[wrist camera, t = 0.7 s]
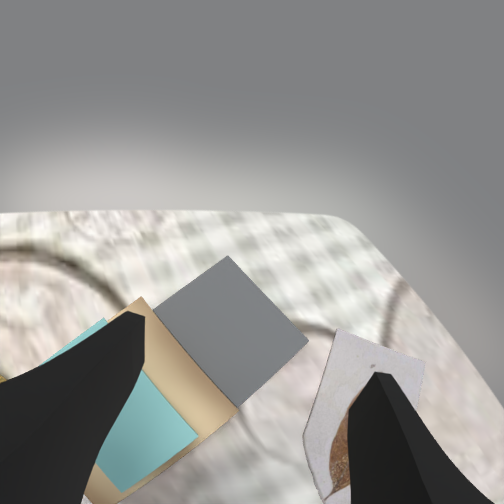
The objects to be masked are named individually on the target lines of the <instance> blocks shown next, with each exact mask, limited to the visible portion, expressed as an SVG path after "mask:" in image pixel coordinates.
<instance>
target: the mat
mask: <svg viewBox="0 0 504 504" xmlns="http://www.w3.org/2000/svg"><path fill="white" fill-rule="evenodd" d="M153 311H154V313H155V314H156V315H157V317H158V318H159V319H160V320H161V322H162V323H163V324H164V325H165V327H166V328H167V329H168V330H169V331H170V333H171V334H172V335H173V336H174V338H175V339H176V340H177V341H178V342H179V344H180V345H181V346H182V347H183V348H184V350H185V351H186V352H187V353H188V354H189V355H190V357H191V358H192V359H193V360H194V361H195V362H196V364H197V365H198V366H199V367H200V368H201V369H202V370H203V372H204V373H205V374H206V375H207V376H208V377H209V378H210V379H211V381H212V382H213V383H214V384H215V385H216V386H217V387H218V388H219V389H220V390H221V391H222V393H223V394H224V395H225V396H226V397H227V398H228V399H229V400H230V401H231V402H232V403H233V404H234V405H235V406H236V407H239V406H240V405H241V404H242V403H243V402H244V401H245V400H247V399H248V398H249V397H250V396H251V395H252V394H253V393H254V392H256V391H257V390H258V389H259V388H260V387H261V386H262V385H263V384H264V383H266V382H267V381H268V380H269V379H270V378H271V377H272V376H273V375H274V374H275V373H276V372H277V371H278V370H280V369H281V368H282V367H283V366H284V365H285V364H286V363H287V362H288V361H289V360H290V359H291V358H292V357H293V356H294V355H295V354H296V353H297V352H298V351H299V350H300V349H301V348H302V347H303V346H304V345H305V344H306V343H307V342H308V341H309V340H308V339H307V338H306V337H305V336H304V335H303V334H302V333H301V332H300V331H299V329H298V328H297V327H296V326H295V325H294V324H293V323H292V322H291V321H290V320H289V319H288V318H287V317H286V316H285V315H284V314H283V313H282V312H281V311H280V310H279V309H278V308H277V307H276V306H275V305H274V303H273V302H272V301H271V300H270V299H269V298H268V297H267V296H266V295H265V294H264V293H263V292H262V291H261V290H260V289H259V288H258V287H257V286H256V285H255V284H254V282H253V281H252V280H251V279H250V278H249V277H248V276H247V275H246V274H245V273H244V272H243V271H242V270H241V269H240V268H239V267H238V266H237V264H236V263H235V262H234V261H233V260H232V259H231V258H230V257H229V256H226V257H225V258H224V259H222V260H221V261H219V262H218V263H217V264H215V265H214V266H213V267H211V268H210V269H208V270H207V271H206V272H204V273H203V274H201V275H200V276H199V277H197V278H196V279H195V280H193V281H192V282H190V283H189V284H188V285H186V286H185V287H183V288H182V289H181V290H179V291H178V292H177V293H175V294H174V295H172V296H171V297H170V298H168V299H167V300H166V301H164V302H163V303H161V304H160V305H159V306H157V307H156V308H155V309H153Z"/></svg>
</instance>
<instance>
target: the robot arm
mask: <svg viewBox="0 0 504 504" xmlns="http://www.w3.org/2000/svg"><path fill="white" fill-rule="evenodd" d="M144 363H145V316H143V315H139V314H136V313H133V312H130V311H126V312H124V313H122V314H121V315H119V316H118V317H116V318H115V319H114V320H112V321H111V322H109V323H108V324H106V325H105V326H104V327H102V328H101V329H99V330H98V331H96V332H95V333H93V334H92V335H90V336H89V337H87V338H86V339H84V340H83V341H81V342H79V343H78V344H76V345H75V346H73V347H72V348H70V349H68V350H67V351H65V352H63V353H62V354H60V355H58V356H56V357H55V358H53V359H51V360H50V361H48V362H46V363H44V364H42V365H40V366H38V367H36V368H34V369H32V370H30V371H28V372H26V373H24V374H22V375H19V376H17V377H14V378H12V379H9V380H7V381H4V382H1V383H0V504H81V501H82V498H83V495H84V492H85V489H86V486H87V483H88V480H89V477H90V475H91V472H92V469H93V467H94V464H95V462H96V459H97V456H98V454H99V451H100V449H101V447H102V445H103V443H104V441H105V439H106V437H107V435H108V434H109V432H110V430H111V428H112V426H113V425H114V423H115V421H116V419H117V417H118V416H119V414H120V412H121V410H122V409H123V407H124V405H125V403H126V402H127V400H128V398H129V396H130V394H131V393H132V391H133V389H134V387H135V384H136V382H137V380H138V377H139V375H140V372H141V370H142V367H143V365H144ZM347 443H348V458H349V472H350V489H351V504H494V503H493V502H492V501H490V500H489V499H488V498H487V497H486V496H485V495H483V494H482V493H481V492H480V491H479V490H478V489H477V488H476V487H475V486H474V485H473V484H472V483H471V482H470V481H469V480H468V479H467V478H466V477H465V476H464V475H463V474H462V473H461V472H460V470H459V469H458V468H457V467H456V466H455V465H454V463H453V462H452V461H451V460H450V459H449V457H448V456H447V455H446V454H445V452H444V451H443V450H442V448H441V447H440V446H439V444H438V443H437V442H436V440H435V439H434V437H433V436H432V435H431V433H430V432H429V430H428V429H427V427H426V426H425V424H424V423H423V421H422V420H421V418H420V417H419V415H418V414H417V412H416V411H415V409H414V407H413V406H412V404H411V403H410V401H409V400H408V398H407V397H406V395H405V393H404V392H403V390H402V389H401V387H400V386H399V384H398V383H397V381H396V380H395V379H394V377H393V376H392V374H388V373H382V372H374V373H373V375H372V376H371V378H370V379H369V381H368V382H367V384H366V385H365V387H364V388H363V390H362V391H361V393H360V394H359V396H358V397H357V399H356V400H355V401H354V403H353V404H352V406H351V407H350V408H349V411H348V428H347Z"/></svg>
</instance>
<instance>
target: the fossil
mask: <svg viewBox="0 0 504 504" xmlns="http://www.w3.org/2000/svg"><path fill="white" fill-rule="evenodd" d="M424 369H425V362H424V361H421V360H419V359H416V358H413V357H410V356H407V355H405V354H402V353H399V352H396V351H394V350H391V349H389V348H386V347H383V346H381V345H378V344H375V343H373V342H370V341H368V340H366V339H363V338H361V337H358V336H356V335H353V334H351V333H348V332H346V331H343V330H341V329H336V333H335V337H334V340H333V344H332V347H331V350H330V354H329V357H328V361H327V364H326V367H325V370H324V373H323V377H322V380H321V383H320V386H319V389H318V392H317V395H316V398H315V401H314V404H313V407H312V410H311V413H310V416H309V419H308V422H307V425H306V428H305V431H304V434H303V445H304V448H305V454H306V458H307V461H308V466H309V468H310V470H311V473H312V475H313V478H314V484H315V486H316V488H317V490H318V494H319V496H320V498H321V499H322V501H323V503H324V504H351V489H350V472H349V458H348V443H347V428H348V411H349V408H350V407H351V406H352V404H353V403H354V401H355V400H356V399H357V397H358V396H359V394H360V393H361V391H362V390H363V388H364V387H365V385H366V384H367V382H368V381H369V379H370V378H371V376H372V375H373V373H374V372H382V373H388V374H392V376H393V377H394V379H395V380H396V381H397V383H398V384H399V386H400V387H401V389H402V390H403V392H404V393H405V395H406V397H407V398H408V400H409V401H410V403H411V404H412V406H413V407H414V409H415V411H416V409H417V405H418V400H419V396H420V391H421V384H422V380H423V375H424Z"/></svg>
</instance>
